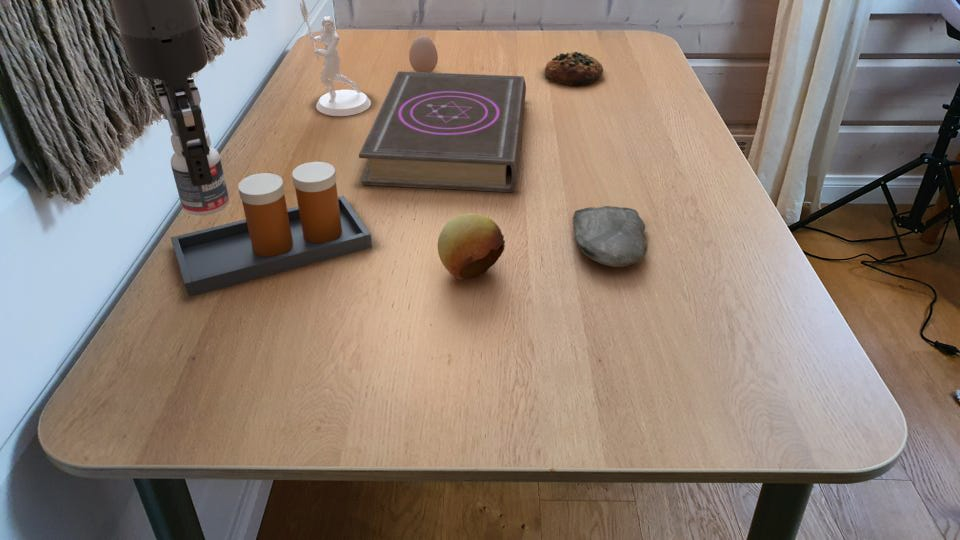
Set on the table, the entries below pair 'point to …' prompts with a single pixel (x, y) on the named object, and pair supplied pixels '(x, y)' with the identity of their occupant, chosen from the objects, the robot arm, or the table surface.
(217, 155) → the pill bottle
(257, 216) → the amber bottle middle
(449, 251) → the fruit
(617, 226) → the stone
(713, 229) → the table surface
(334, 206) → the amber bottle far
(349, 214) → the tray
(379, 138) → the book
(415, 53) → the egg
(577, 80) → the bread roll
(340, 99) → the figurine
